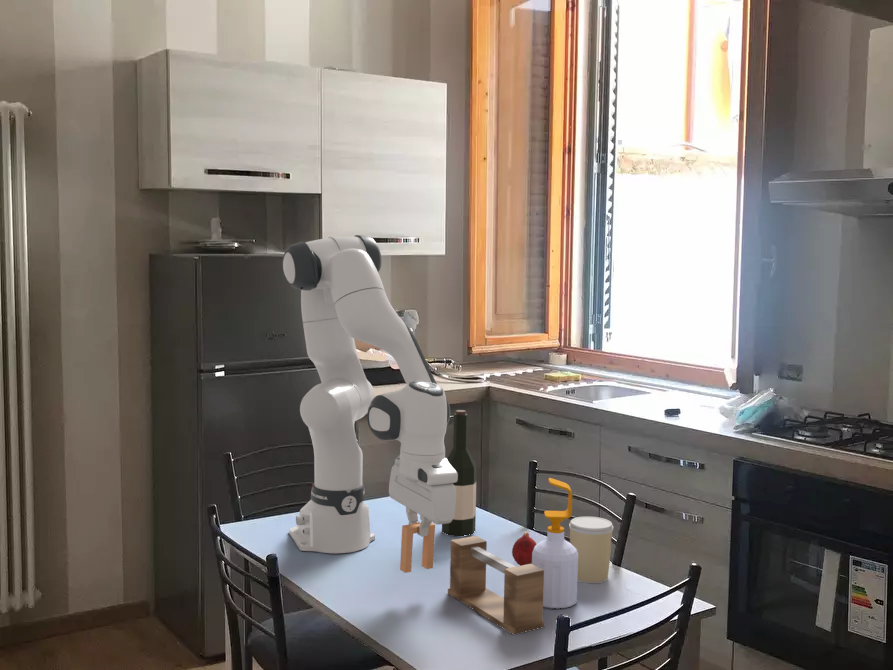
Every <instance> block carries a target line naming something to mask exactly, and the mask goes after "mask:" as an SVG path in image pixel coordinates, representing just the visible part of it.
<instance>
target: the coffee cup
mask: <svg viewBox="0 0 893 670" xmlns="http://www.w3.org/2000/svg"><path fill="white" fill-rule="evenodd" d="M568 528H569V543H571V544H572V545H573V546H574V547H575V548H576V549H577V552H578V576H577V582H579V583H585V584H601V582H602V583H604V581H605V582H606V581H608V579H609V578H608V577H609V570H610V562H611V554H612V553H611V552H612V543H613V531H614V525H613V523H612V521H610V520H609V519H607V518H602V517H598V516H591V515H590V516H577V517H575V518H572V519H571V520H570V521H569V524H568Z"/></svg>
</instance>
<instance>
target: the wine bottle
mask: <svg viewBox="0 0 893 670" xmlns="http://www.w3.org/2000/svg"><path fill="white" fill-rule="evenodd" d="M468 415H469V414H468V413H467V410H464V409H457V410H455V413H453V437H452V439H453V440H452V442H453V443H452V445H453V446H452V450H451V452H450V453H449V454H448V456H447V457H446V458H447V460H448V462H449V463H450V465H451V466H452V467H453V468H454V469H455V470H456V472H457V474H458V480H457V482H456V483H453V484H454V486H455V490H456V503H455V514H454V518H453V520H452V521H451V523H447V524H441V533H442V532H444V533H446V534H448V535H454V536H453V537H457V536H464V535H469V534H470V536H472V535H471V534H473V533H474V534H475V532H476V518H477V517H476V514H477V510H476V509H477V508H476V506H477V472H478V471H477V469H478V468H477V463H476V461H475V459H474V457H473V455H472V454H471V452H470V450H469V449H468V420H469V419H468ZM474 531H475V532H474ZM444 533H443V534H444ZM446 534H445V535H446ZM474 534H473V535H474ZM448 535H447V536H448ZM464 537H465V536H464Z"/></svg>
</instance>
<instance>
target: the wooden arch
mask: <svg viewBox="0 0 893 670" xmlns="http://www.w3.org/2000/svg"><path fill="white" fill-rule="evenodd" d="M420 523H421V522H420ZM420 523H417V524H410V525H409V524H405V525H404V524H403V525H401V527H402V528H401V543H400V544H401V546H400V561H399V562H400V563H399V564H400V565H399V568H400V571H402V572H403V573H404V574H406V573H407V574H408V573H411V572H412V564H413V563H412V561H413V546H414V545H413V543H414V541H413V540H414V534H417V526H420ZM435 536H436V524H435V523H433V522H432V523H431V524H430V526H429V531H428V535H427V536H423V538H422V558H421V567H423V568H424V569H426V570H430V569H434V554H435V552H434V551H435Z"/></svg>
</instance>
